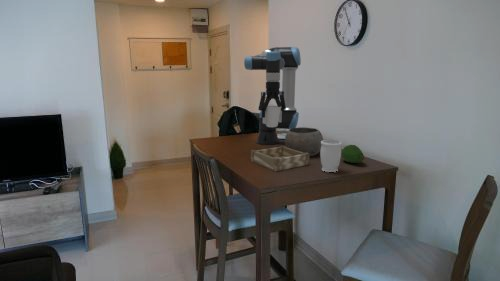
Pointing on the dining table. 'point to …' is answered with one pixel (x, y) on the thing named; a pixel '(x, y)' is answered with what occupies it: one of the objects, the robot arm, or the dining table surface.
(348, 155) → the fruit
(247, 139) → the dining table surface
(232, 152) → the dining table surface
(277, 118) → the cup
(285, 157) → the crate
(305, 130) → the bowl
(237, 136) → the dining table surface
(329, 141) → the jar
